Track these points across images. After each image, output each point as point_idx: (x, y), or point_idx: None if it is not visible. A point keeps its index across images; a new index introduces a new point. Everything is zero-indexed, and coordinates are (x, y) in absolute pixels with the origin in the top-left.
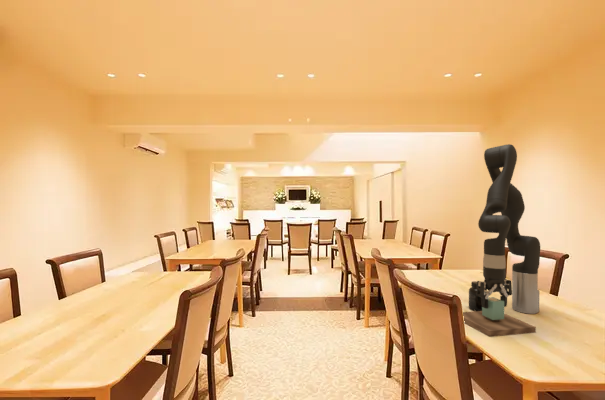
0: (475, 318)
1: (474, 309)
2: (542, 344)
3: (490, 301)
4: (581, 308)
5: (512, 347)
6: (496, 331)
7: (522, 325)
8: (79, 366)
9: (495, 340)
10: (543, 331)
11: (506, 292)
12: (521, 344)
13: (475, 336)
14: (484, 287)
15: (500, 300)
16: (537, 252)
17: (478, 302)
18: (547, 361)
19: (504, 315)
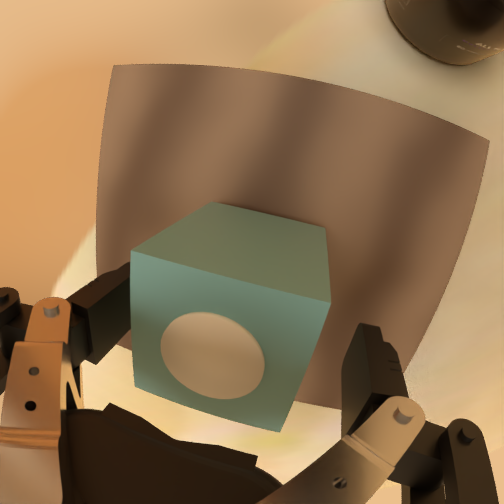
0: (154, 194)
1: (390, 15)
2: (260, 440)
3: (133, 362)
4: None
5: (133, 397)
6: None
7: (337, 386)
8: None
9: (115, 350)
10: (417, 398)
11: (413, 473)
12: (183, 408)
13: (69, 293)
14: (10, 391)
15: (269, 407)
16: None
17: (428, 15)
18: None
19: (430, 246)
